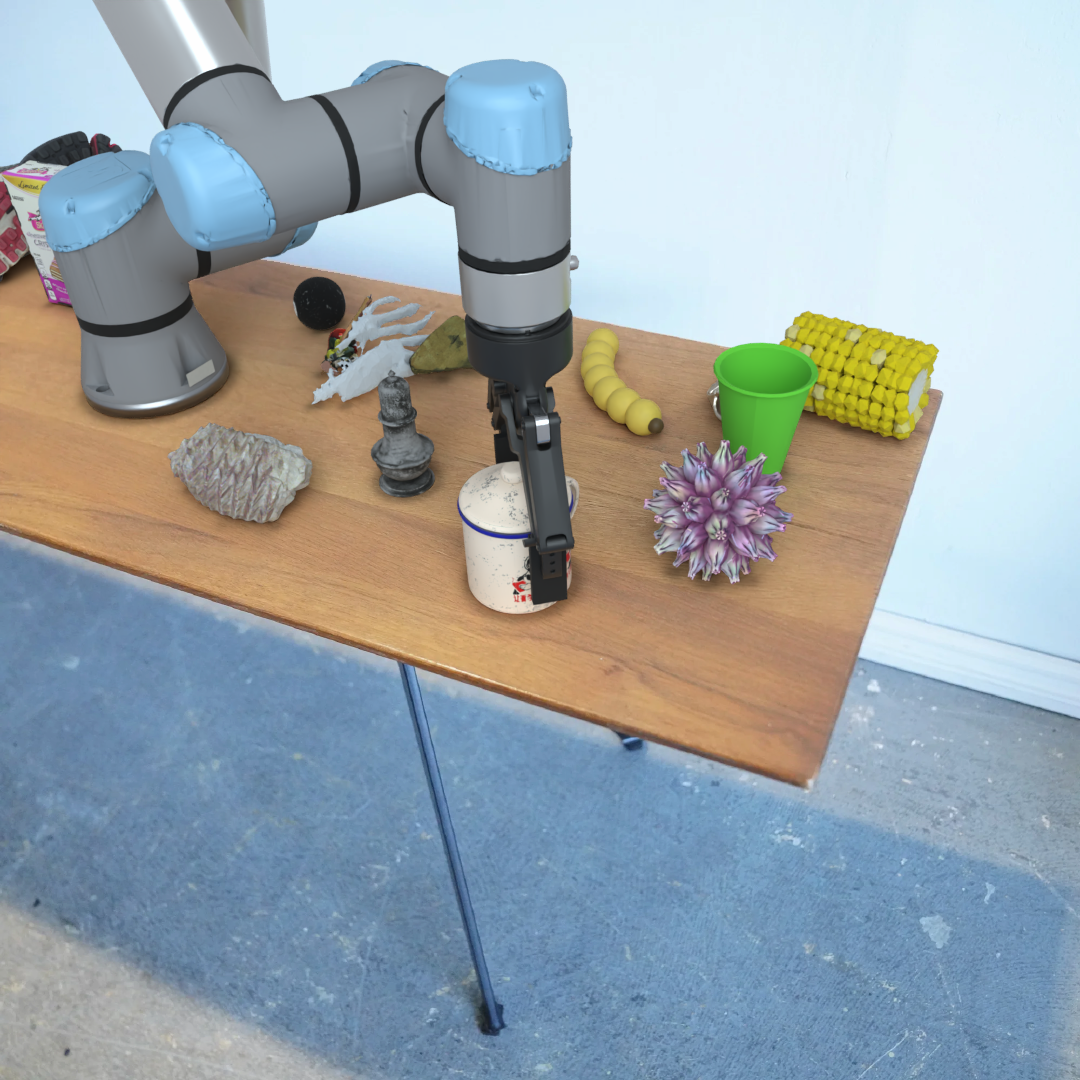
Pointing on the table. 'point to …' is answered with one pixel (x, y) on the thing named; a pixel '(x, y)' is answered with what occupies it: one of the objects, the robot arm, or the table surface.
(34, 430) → the table surface
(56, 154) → the running shoe
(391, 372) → the grey carved upright piece
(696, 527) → the flower
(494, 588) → the teacup with lid
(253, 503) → the grey ridged fossil rock
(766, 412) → the cup
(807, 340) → the food
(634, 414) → the yellow segmented curved bar
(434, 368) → the stone
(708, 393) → the ornament
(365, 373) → the decorative object
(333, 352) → the toy figure
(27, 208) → the candy bar box
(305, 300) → the billiard ball
